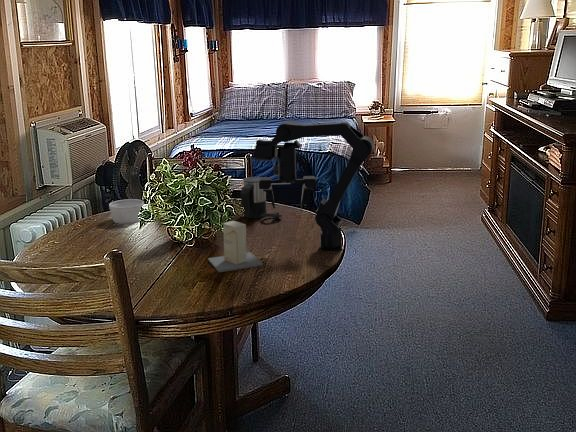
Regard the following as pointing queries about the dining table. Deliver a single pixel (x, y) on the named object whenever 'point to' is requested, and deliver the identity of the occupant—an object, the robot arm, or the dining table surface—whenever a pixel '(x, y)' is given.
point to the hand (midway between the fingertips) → (287, 207)
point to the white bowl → (126, 210)
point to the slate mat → (225, 266)
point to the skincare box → (234, 242)
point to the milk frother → (254, 199)
